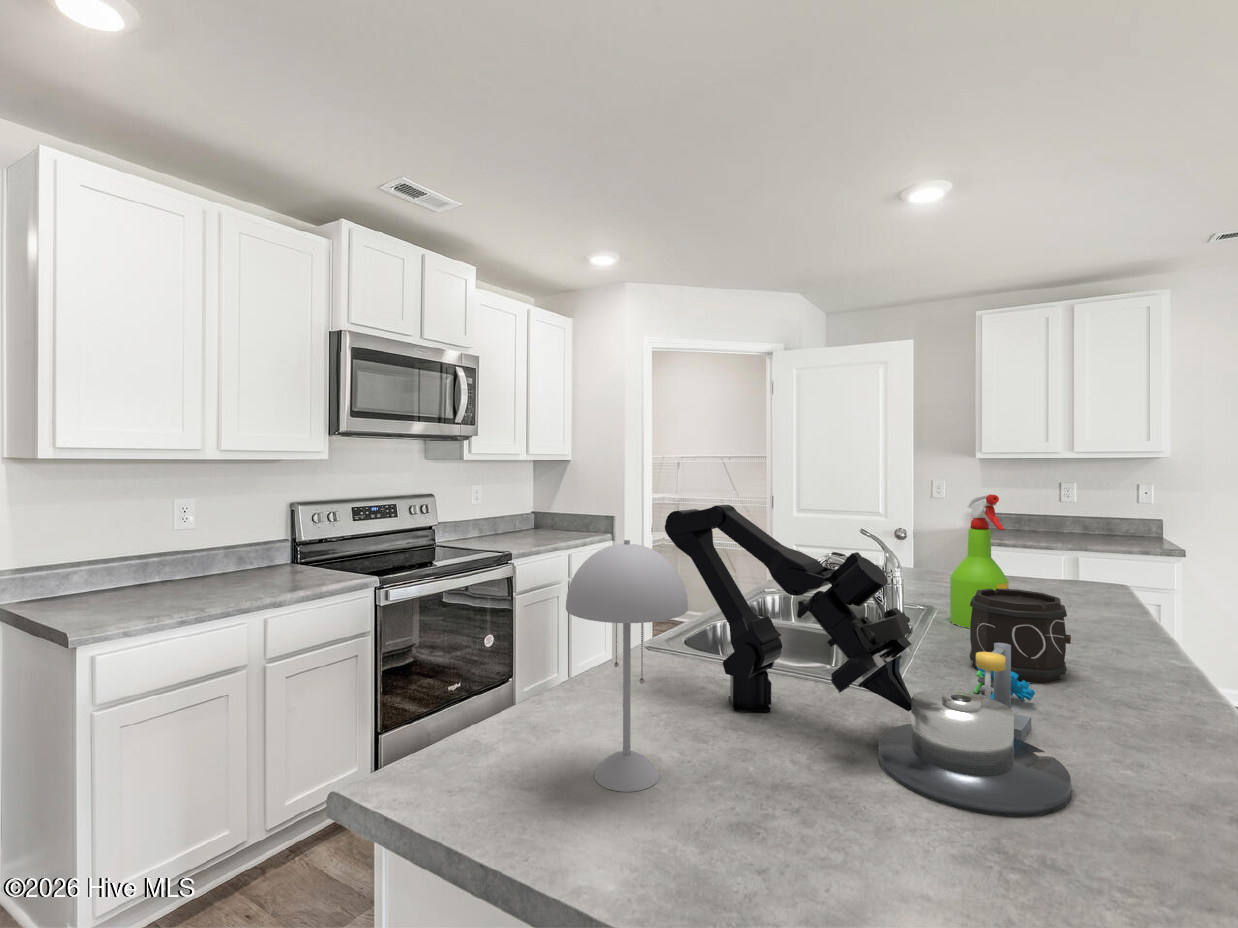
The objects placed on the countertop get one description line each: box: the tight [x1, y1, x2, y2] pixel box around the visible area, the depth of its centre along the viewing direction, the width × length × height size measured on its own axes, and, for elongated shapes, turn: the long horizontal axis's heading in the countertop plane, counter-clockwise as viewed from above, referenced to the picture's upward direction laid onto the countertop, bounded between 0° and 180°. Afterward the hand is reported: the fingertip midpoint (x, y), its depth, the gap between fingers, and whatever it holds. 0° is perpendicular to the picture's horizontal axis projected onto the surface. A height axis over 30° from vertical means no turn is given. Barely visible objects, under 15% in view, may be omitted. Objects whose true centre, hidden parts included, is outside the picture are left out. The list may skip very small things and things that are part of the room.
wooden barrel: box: [969, 588, 1072, 685], centre depth 138 cm, size 18×18×16 cm
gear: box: [973, 667, 1036, 702], centre depth 121 cm, size 11×6×10 cm
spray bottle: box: [949, 493, 1009, 628], centre depth 174 cm, size 14×18×35 cm
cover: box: [910, 689, 1015, 776], centre depth 95 cm, size 13×13×8 cm
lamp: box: [565, 539, 689, 793], centre depth 92 cm, size 17×17×33 cm
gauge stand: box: [976, 643, 1032, 742], centre depth 106 cm, size 13×7×14 cm, turn 137°
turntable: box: [877, 723, 1072, 818], centre depth 94 cm, size 24×24×2 cm
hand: (912, 709), depth 99 cm, fingers closed, pressing on cover
